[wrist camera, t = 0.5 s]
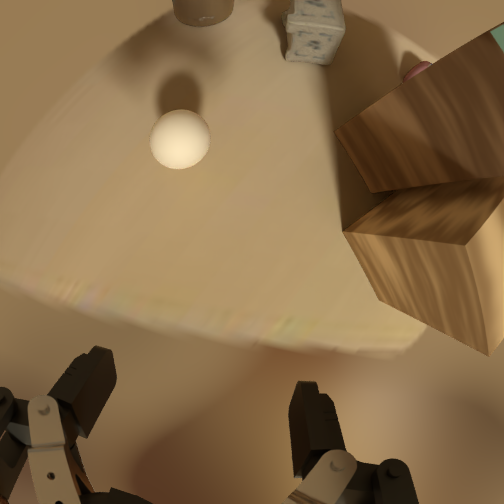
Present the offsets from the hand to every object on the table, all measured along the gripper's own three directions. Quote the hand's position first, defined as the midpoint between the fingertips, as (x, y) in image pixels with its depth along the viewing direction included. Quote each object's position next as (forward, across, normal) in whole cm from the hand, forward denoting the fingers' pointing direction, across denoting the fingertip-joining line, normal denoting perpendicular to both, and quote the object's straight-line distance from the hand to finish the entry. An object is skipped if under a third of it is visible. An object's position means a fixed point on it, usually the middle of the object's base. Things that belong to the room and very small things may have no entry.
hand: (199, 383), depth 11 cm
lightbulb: (+27, +8, -8) cm, 30 cm away
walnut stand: (+31, -19, -15) cm, 39 cm away
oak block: (+29, -23, -2) cm, 37 cm away
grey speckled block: (+34, -5, -29) cm, 45 cm away
